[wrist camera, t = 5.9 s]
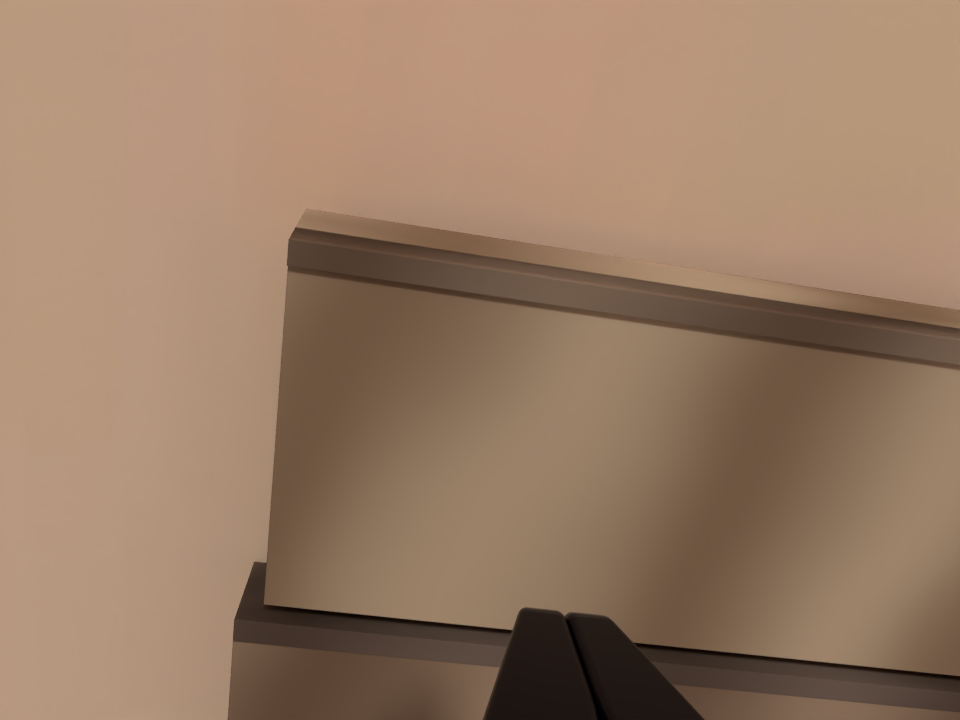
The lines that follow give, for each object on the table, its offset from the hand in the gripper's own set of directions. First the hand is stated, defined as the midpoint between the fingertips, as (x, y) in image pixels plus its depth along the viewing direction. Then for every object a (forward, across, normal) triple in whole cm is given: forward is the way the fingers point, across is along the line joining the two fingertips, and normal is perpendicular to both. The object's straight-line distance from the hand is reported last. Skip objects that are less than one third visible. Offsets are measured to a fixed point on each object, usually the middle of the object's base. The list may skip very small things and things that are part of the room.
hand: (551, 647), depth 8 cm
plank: (+7, -5, +1) cm, 9 cm away
